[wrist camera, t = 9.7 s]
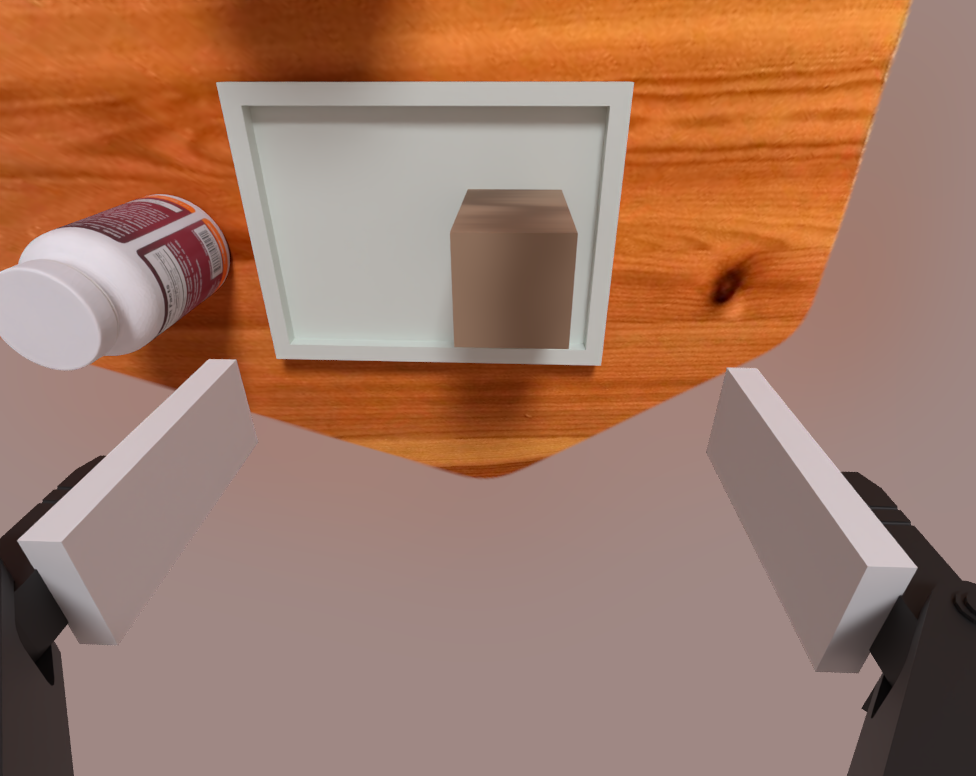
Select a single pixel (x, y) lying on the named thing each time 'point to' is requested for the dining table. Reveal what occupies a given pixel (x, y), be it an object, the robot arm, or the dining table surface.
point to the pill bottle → (110, 281)
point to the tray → (414, 204)
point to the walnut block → (513, 269)
